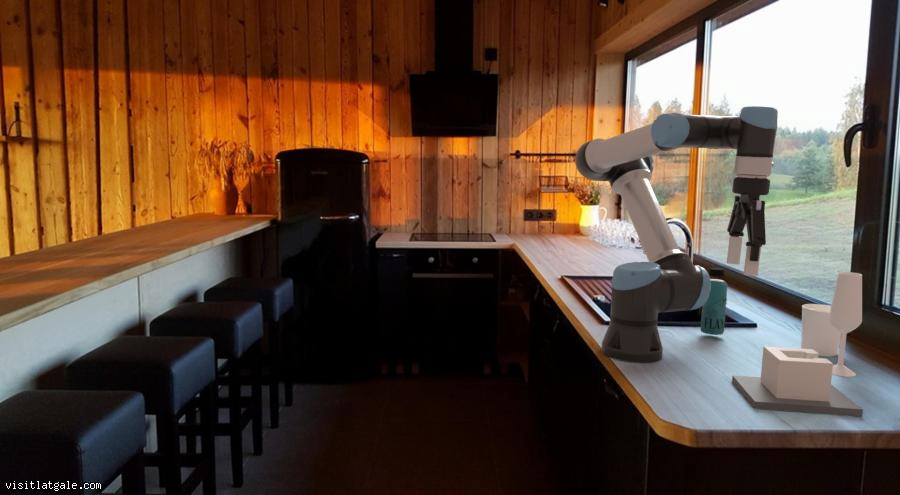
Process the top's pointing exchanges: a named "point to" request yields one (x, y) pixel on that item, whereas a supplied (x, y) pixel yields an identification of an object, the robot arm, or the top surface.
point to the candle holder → (819, 330)
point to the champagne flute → (846, 313)
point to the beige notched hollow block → (796, 373)
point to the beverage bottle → (715, 305)
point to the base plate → (766, 400)
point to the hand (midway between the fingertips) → (741, 269)
